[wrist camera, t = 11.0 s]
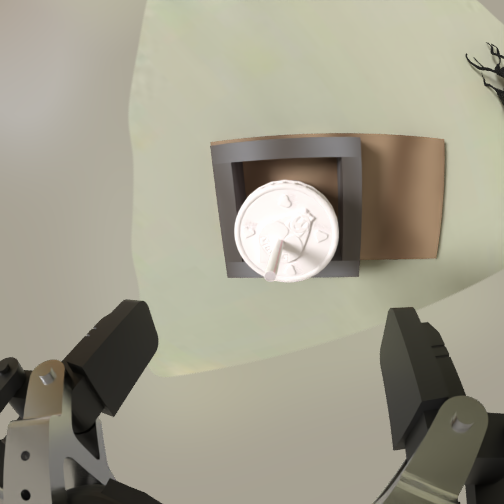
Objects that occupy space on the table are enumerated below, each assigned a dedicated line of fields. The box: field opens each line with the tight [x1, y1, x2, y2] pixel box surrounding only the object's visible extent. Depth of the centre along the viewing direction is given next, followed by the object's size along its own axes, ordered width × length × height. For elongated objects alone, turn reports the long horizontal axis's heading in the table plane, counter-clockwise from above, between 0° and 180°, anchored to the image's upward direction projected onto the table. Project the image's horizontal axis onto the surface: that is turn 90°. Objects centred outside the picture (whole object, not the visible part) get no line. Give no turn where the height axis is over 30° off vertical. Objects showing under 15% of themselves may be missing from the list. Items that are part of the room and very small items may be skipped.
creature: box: [466, 42, 504, 105], centre depth 14 cm, size 8×5×8 cm
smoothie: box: [234, 180, 339, 282], centre depth 19 cm, size 6×6×14 cm
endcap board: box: [210, 133, 445, 278], centre depth 24 cm, size 22×12×5 cm, turn 96°
